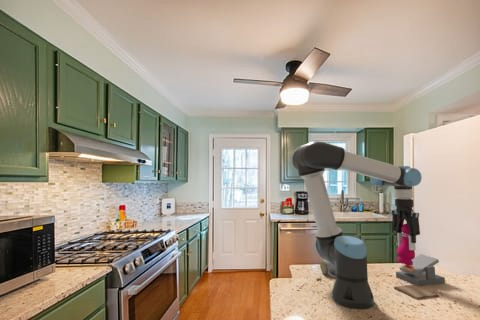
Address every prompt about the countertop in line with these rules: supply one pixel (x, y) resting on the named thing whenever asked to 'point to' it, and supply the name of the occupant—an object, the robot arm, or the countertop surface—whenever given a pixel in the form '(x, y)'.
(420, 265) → the breaker rocker
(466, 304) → the countertop surface
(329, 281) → the countertop surface
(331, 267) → the ceramic mug
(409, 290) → the coaster
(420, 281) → the switch housing
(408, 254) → the pepper mill
